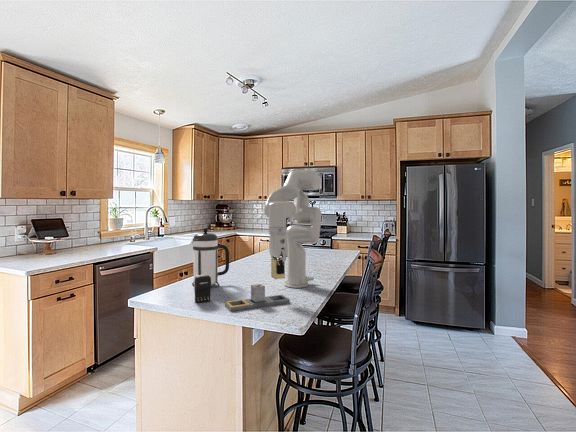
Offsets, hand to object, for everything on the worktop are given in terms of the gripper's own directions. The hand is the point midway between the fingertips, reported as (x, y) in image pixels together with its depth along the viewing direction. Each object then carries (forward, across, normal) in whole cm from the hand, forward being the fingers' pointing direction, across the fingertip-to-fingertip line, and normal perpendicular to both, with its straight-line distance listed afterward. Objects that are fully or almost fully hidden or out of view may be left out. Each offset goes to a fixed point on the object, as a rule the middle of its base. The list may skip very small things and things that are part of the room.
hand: (278, 272), depth 139 cm
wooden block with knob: (+2, 0, 0) cm, 2 cm away
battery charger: (+13, +13, +30) cm, 35 cm away
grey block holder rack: (+12, -1, +10) cm, 16 cm away
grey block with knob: (+13, -1, +10) cm, 16 cm away
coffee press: (+13, +40, +22) cm, 48 cm away
